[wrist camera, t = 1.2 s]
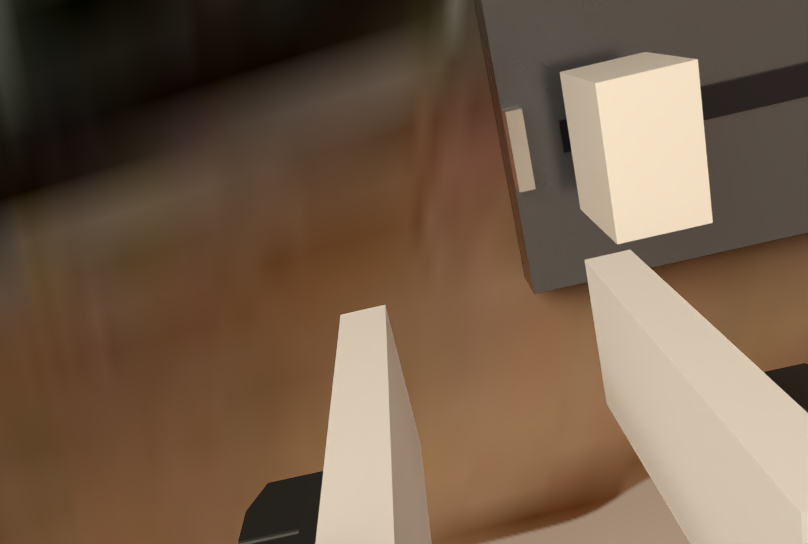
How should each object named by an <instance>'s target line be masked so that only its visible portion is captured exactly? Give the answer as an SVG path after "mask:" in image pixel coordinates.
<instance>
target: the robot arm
mask: <svg viewBox="0 0 808 544" xmlns="http://www.w3.org/2000/svg"><path fill="white" fill-rule="evenodd" d="M585 267H586V273H587V280H588V286H589V293H590V299H591V306H592V312H593V318H594V325H595V331H596V338H597V344H598V351H599V357H600V364H601V370H602V377H603V383H604V390H605V396H606V403H607V405H608V407H609V409H610V410H611V412H612V414H613V415H614V417H615V419H616V420H617V422H618V424H619V425H620V427H621V429H622V430H623V432H624V434H625V435H626V437H627V439H628V440H629V442H630V444H631V445H632V447H633V449H634V450H635V452H636V454H637V455H638V457H639V459H640V460H641V462H642V464H643V466H644V467H645V469H646V471H647V472H648V474H649V476H650V477H651V479H652V481H653V482H654V484H655V486H656V487H657V489H658V491H659V492H660V494H661V496H662V497H663V499H664V501H665V502H666V504H667V506H668V507H669V509H670V511H671V512H672V514H673V516H674V517H675V519H676V521H677V523H678V524H679V526H680V527H681V529H682V531H683V532H684V534H685V536H686V538H687V539H688V541H689V542H690V544H808V364H805V363H803V364H799V365H794V366H790V367H785V368H780V369H776V370H771V371H767V372H763V371H762V370H761V369H759V368H758V367H757V366H756V365H755V364H754V363H753V362H752V361H751V360H750V359H749V358H747V357H746V356H745V355H744V354H743V353H742V352H741V351H740V350H739V349H738V348H737V347H736V346H734V345H733V344H732V343H731V342H730V341H729V340H728V339H727V338H726V337H725V336H724V335H723V334H721V333H720V332H719V331H718V330H717V329H716V328H715V327H714V326H713V325H712V324H711V323H709V322H708V321H707V320H706V319H705V318H704V317H703V316H702V315H701V314H700V313H699V312H698V311H696V310H695V309H694V308H693V307H692V306H691V305H690V304H689V303H688V302H687V301H686V300H684V299H683V298H682V297H681V296H680V295H679V294H678V293H677V292H676V291H675V290H674V289H673V288H671V287H670V286H669V285H668V284H667V283H666V282H665V281H664V280H663V279H662V278H661V277H660V276H658V275H657V274H656V273H655V272H654V271H653V270H652V269H651V268H650V267H649V266H648V265H646V264H645V263H644V262H643V261H642V260H641V259H640V258H639V257H638V256H637V255H636V254H635V253H633V252H632V251H631V250H626V251H621V252H617V253H612V254H608V255H604V256H599V257H595V258H590V259H586V260H585ZM238 543H239V544H431V535H430V526H429V517H428V508H427V498H426V489H425V480H424V471H423V461H422V452H421V444H420V440H419V436H418V432H417V428H416V424H415V420H414V416H413V412H412V408H411V404H410V400H409V396H408V392H407V389H406V385H405V381H404V377H403V373H402V369H401V365H400V361H399V357H398V353H397V349H396V345H395V341H394V337H393V333H392V329H391V325H390V322H389V318H388V314H387V310H386V306H385V305H382V306H378V307H373V308H369V309H364V310H360V311H356V312H351V313H347V314H342V315H341V316H340V325H339V334H338V343H337V352H336V361H335V370H334V379H333V388H332V397H331V406H330V416H329V425H328V434H327V443H326V452H325V461H324V470H323V471H321V472H317V473H312V474H308V475H303V476H298V477H294V478H289V479H285V480H280V481H275V482H271V483H268V484H267V485H266V486H265V488H264V489H263V490H262V492H261V493H260V494H259V495H258V497H257V498H256V499H255V501H254V502H253V503H252V505H251V506H250V507H249V508H248V510H247V511H246V514H245V517H244V521H243V525H242V529H241V533H240V537H239V541H238Z"/></svg>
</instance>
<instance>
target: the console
mask: <svg viewBox="0 0 808 544" xmlns="http://www.w3.org/2000/svg"><path fill="white" fill-rule="evenodd" d="M474 4H475V9H476V14H477V20H478V25H479V31H480V36H481V42H482V47H483V53H484V58H485V63H486V69H487V74H488V80H489V85H490V91H491V96H492V101H493V107H494V112H495V118H496V123H497V129H498V134H499V140H500V145H501V150H502V156H503V161H504V167H505V172H506V178H507V183H508V188H509V194H510V199H511V205H512V210H513V216H514V221H515V226H516V232H517V237H518V243H519V248H520V254H521V259H522V265H523V270H524V275H525V278H526V280H527V282H528V284H529V285H530V287H531V289H532V291H533V292H534V294H536V293H541V292H545V291H550V290H554V289H559V288H563V287H567V286H572V285H576V284H581V283H585V282H588V280H587V273H586V267H585V260H586V259H590V258H595V257H599V256H604V255H608V254H612V253H617V252H621V251H626V250H631V251H632V252H633V253H635V254H636V255H637V256H638V257H639V258H640V259H641V260H642V261H643V262H644V263H645V264H646V265H648V266H649V267H650V268H652V267H657V266H661V265H665V264H670V263H674V262H679V261H683V260H688V259H692V258H697V257H701V256H706V255H710V254H714V253H719V252H723V251H728V250H732V249H737V248H741V247H746V246H750V245H755V244H759V243H764V242H768V241H772V240H777V239H781V238H786V237H790V236H795V235H799V234H804V233H808V0H474ZM643 52H650V53H657V54H664V55H671V56H678V57H685V58H692V59H698V67H699V78H700V89H701V100H702V110H703V121H704V132H705V143H706V154H707V165H708V175H709V186H710V197H711V208H712V219H713V223H710V224H705V225H701V226H697V227H692V228H688V229H683V230H679V231H674V232H670V233H666V234H661V235H657V236H652V237H648V238H644V239H639V240H635V241H630V242H626V243H621V244H616V243H615V242H614V241H613V240H612V239H611V238H610V237H609V236H608V235H607V234H606V233H605V232H604V231H603V230H602V229H601V228H599V227H598V226H597V225H596V224H595V223H594V222H593V221H592V220H591V219H590V218H589V217H588V216H587V215H586V214H585V213H584V212H583V211H582V210H581V209H580V203H579V197H578V190H577V184H576V177H575V170H574V164H573V157H572V151H571V144H570V138H569V131H568V125H567V118H566V111H565V105H564V98H563V92H562V85H561V79H560V72H562V71H566V70H571V69H575V68H579V67H583V66H588V65H592V64H596V63H600V62H605V61H609V60H613V59H617V58H622V57H626V56H630V55H634V54H638V53H643Z"/></svg>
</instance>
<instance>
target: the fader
mask: <svg viewBox="0 0 808 544" xmlns="http://www.w3.org/2000/svg"><path fill="white" fill-rule="evenodd" d="M560 79H561V85H562V92H563V98H564V105H565V111H566V118H567V125H568V131H569V138H570V144H571V151H572V157H573V164H574V170H575V177H576V184H577V190H578V197H579V203H580V209H581V210H582V211H583V212H584V213H585V214H586V215H587V216H588V217H589V218H590V219H591V220H592V221H593V222H594V223H595V224H596V225H597V226H598V227H599V228H601V229H602V230H603V231H604V232H605V233H606V234H607V235H608V236H609V237H610V238H611V239H612V240H613V241H614V242H615V243H616V244H621V243H626V242H630V241H635V240H639V239H644V238H648V237H652V236H657V235H661V234H666V233H670V232H674V231H679V230H683V229H688V228H692V227H697V226H701V225H705V224H710V223H713V219H712V208H711V197H710V186H709V175H708V165H707V154H706V143H705V132H704V121H703V110H702V100H701V89H700V78H699V67H698V59H692V58H685V57H678V56H671V55H664V54H657V53H650V52H643V53H638V54H634V55H630V56H626V57H622V58H617V59H613V60H609V61H605V62H600V63H596V64H592V65H588V66H583V67H579V68H575V69H571V70H566V71H562V72H560Z"/></svg>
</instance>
